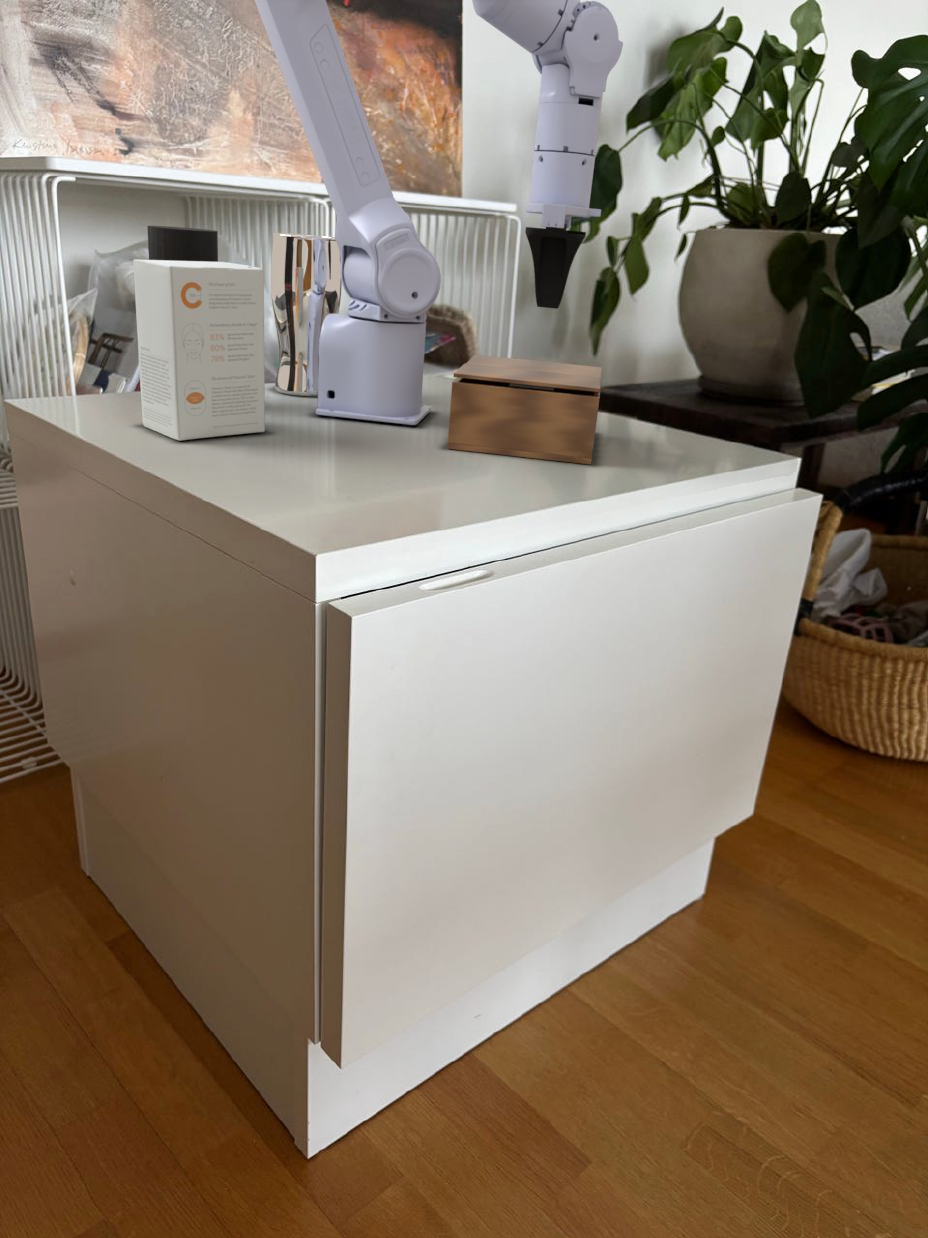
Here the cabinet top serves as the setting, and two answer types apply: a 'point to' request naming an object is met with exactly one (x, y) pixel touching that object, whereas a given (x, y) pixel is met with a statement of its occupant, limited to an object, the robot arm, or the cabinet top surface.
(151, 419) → the small box
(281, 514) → the cabinet top surface
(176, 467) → the cabinet top surface
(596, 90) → the robot arm
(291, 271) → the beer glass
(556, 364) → the flap
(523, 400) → the wooden box
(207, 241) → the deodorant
